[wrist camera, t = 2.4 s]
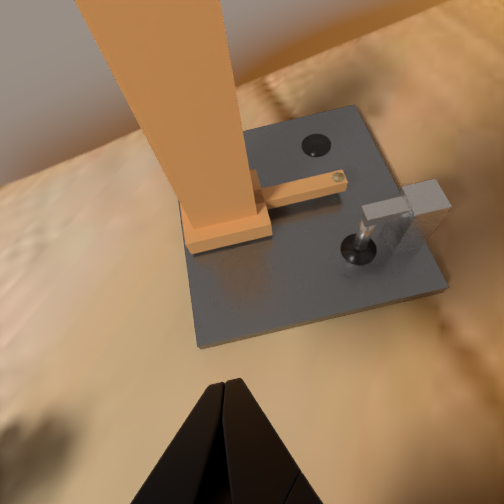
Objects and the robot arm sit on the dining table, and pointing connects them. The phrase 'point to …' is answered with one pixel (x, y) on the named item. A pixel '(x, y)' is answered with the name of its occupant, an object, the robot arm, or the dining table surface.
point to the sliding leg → (193, 115)
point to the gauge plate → (319, 237)
